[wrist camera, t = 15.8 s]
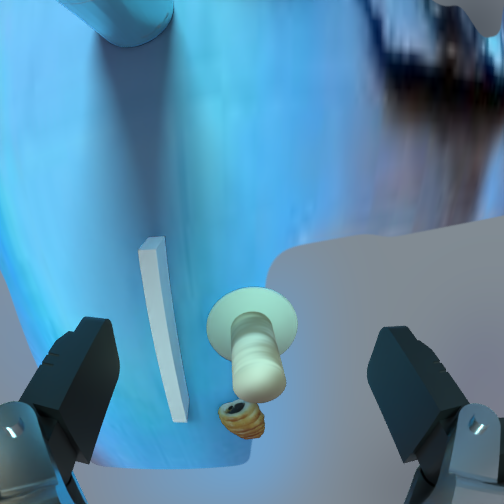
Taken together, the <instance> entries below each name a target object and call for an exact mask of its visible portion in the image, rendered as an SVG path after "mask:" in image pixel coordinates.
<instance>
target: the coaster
mask: <svg viewBox="0 0 504 504" xmlns="http://www.w3.org/2000/svg"><path fill="white" fill-rule="evenodd" d="M251 311H255V312H260V313H262V314H264V315H266V316H267V317H268V318H269V319H270V321H271V323H272V326H273V330H274V334H275V338H276V342H277V346H278V350H279V354H280V355H281V354H282V353H284V352H285V351H286V350H287V349H288V348H289V346H290V345H291V344H292V342H293V340H294V338H295V336H296V333H297V325H298V324H297V316H296V313H295V311H294V309H293V307H292V305H291V304H290V302H289V301H288V300H287V299H286V298H285V297H284V296H282V295H281V294H279V293H277V292H276V291H273V290H271V289H267V288H263V287H245V288H240V289H237V290H234V291H232V292H230V293H228V294H226V295H225V296H223V297H222V298H221V299H220V300H218V301H217V303H216V304H215V305H214V306H213V308H212V309H211V311H210V313H209V316H208V319H207V336H208V339H209V341H210V343H211V345H212V347H213V348H214V349H215V350H216V351H217V353H219V354H220V355H221V356H222V357H224V358H226V359H228V360H230V361H232V354H231V325H232V322H233V321H234V319H235V318H236V317H238V316H239V315H240V314H243V313H245V312H251Z"/></svg>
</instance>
